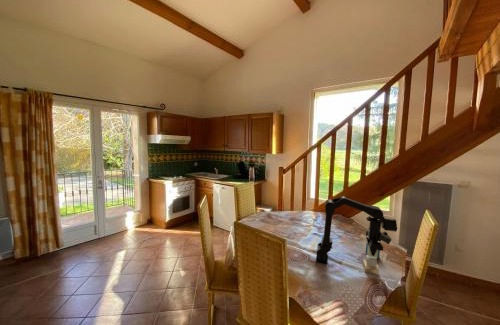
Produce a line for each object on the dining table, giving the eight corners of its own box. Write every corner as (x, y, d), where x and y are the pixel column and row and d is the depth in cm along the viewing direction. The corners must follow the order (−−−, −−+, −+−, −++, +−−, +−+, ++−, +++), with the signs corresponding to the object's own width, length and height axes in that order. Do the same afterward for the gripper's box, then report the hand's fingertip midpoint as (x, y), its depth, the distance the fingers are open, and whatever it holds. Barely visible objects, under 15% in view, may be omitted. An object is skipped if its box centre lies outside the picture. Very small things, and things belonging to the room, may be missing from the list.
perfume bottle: (369, 256, 140) (370, 239, 139) (365, 251, 146) (367, 235, 145) (379, 257, 139) (380, 240, 138) (375, 252, 145) (376, 236, 144)
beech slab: (364, 272, 125) (365, 265, 124) (362, 265, 131) (363, 259, 131) (378, 274, 122) (378, 268, 122) (375, 267, 129) (376, 261, 128)
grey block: (366, 265, 125) (367, 259, 124) (365, 260, 129) (366, 254, 129) (376, 267, 123) (377, 261, 122) (375, 262, 127) (375, 256, 127)
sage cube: (368, 256, 124) (369, 249, 123) (367, 252, 128) (367, 245, 128) (377, 257, 122) (378, 250, 122) (375, 253, 127) (376, 246, 126)
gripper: (395, 238, 112) (392, 265, 114) (386, 224, 129) (384, 248, 131) (371, 234, 115) (369, 261, 118) (366, 221, 133) (363, 244, 135)
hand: (372, 253), depth 125 cm, fingers closed on sage cube, 4 cm apart
